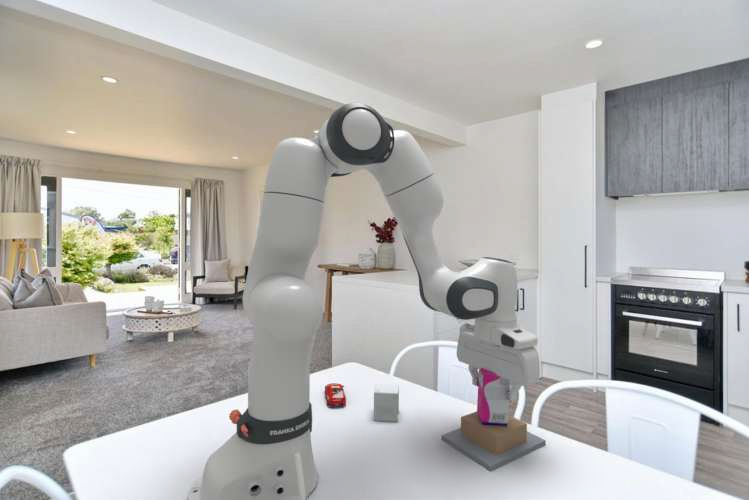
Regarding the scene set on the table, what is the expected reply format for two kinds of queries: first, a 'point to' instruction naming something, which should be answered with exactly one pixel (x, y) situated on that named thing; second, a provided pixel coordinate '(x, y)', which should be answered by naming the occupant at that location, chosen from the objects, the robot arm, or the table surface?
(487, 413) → the supplement box
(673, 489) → the table surface
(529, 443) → the build base
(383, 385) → the product box
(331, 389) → the race car
